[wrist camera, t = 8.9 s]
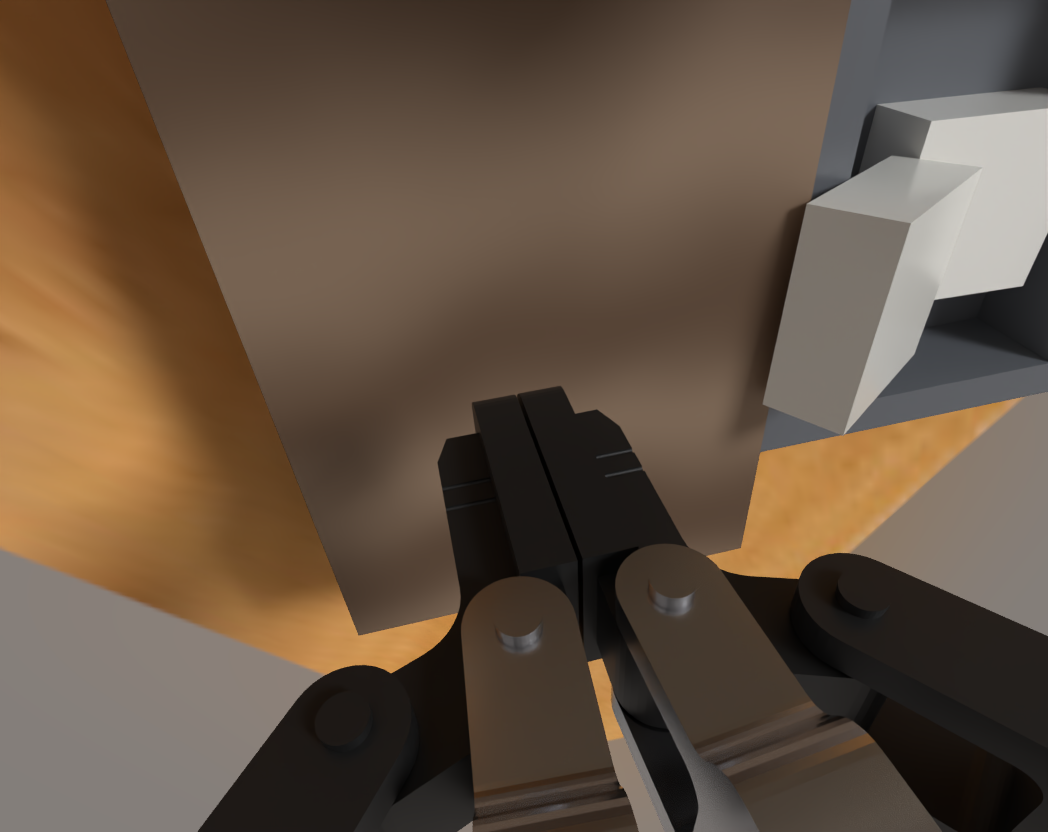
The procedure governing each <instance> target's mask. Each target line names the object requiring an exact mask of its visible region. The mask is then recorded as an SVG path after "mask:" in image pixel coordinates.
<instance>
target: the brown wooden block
mask: <svg viewBox="0 0 1048 832" xmlns="http://www.w3.org/2000/svg"><path fill="white" fill-rule="evenodd" d="M106 3H107V5H108V8H109V10H110V13H111V15H112V18H113V20H114V23H115V25H116V28H117V30H118V33H119V35H120V38H121V40H122V43H123V45H124V48H125V50H126V53H127V55H128V58H129V60H130V63H131V65H132V68H133V70H134V73H135V75H136V78H137V80H138V83H139V85H140V88H141V90H142V93H143V95H144V98H145V100H146V103H147V106H148V108H149V111H150V113H151V116H152V118H153V121H154V123H155V126H156V128H157V131H158V133H159V136H160V138H161V141H162V143H163V146H164V148H165V151H166V153H167V156H168V158H169V161H170V163H171V166H172V168H173V171H174V173H175V176H176V178H177V181H178V183H179V186H180V188H181V191H182V193H183V196H184V198H185V201H186V203H187V206H188V208H189V211H190V213H191V216H192V218H193V221H194V223H195V226H196V228H197V231H198V233H199V236H200V238H201V241H202V243H203V246H204V249H205V251H206V254H207V256H208V259H209V261H210V264H211V266H212V269H213V271H214V274H215V276H216V279H217V281H218V284H219V286H220V289H221V291H222V294H223V296H224V299H225V301H226V304H227V306H228V309H229V311H230V314H231V316H232V319H233V321H234V324H235V326H236V329H237V331H238V334H239V336H240V339H241V341H242V344H243V346H244V349H245V351H246V354H247V356H248V359H249V361H250V364H251V366H252V369H253V371H254V374H255V376H256V379H257V381H258V384H259V386H260V389H261V392H262V394H263V397H264V399H265V402H266V404H267V407H268V409H269V412H270V414H271V417H272V419H273V422H274V424H275V427H276V429H277V432H278V434H279V437H280V439H281V442H282V444H283V447H284V449H285V452H286V454H287V457H288V459H289V462H290V464H291V467H292V469H293V472H294V474H295V477H296V479H297V482H298V484H299V487H300V489H301V492H302V494H303V497H304V499H305V502H306V504H307V507H308V509H309V512H310V514H311V517H312V519H313V522H314V524H315V527H316V529H317V532H318V535H319V537H320V540H321V542H322V545H323V547H324V550H325V552H326V555H327V557H328V560H329V562H330V565H331V567H332V570H333V572H334V575H335V577H336V580H337V582H338V585H339V587H340V590H341V592H342V595H343V597H344V600H345V602H346V605H347V607H348V610H349V612H350V615H351V617H352V620H353V622H354V625H355V627H356V630H357V632H358V635H363V634H368V633H372V632H376V631H381V630H385V629H389V628H394V627H398V626H403V625H407V624H411V623H416V622H420V621H424V620H429V619H433V618H437V617H442V616H446V615H451V614H455V613H458V611H459V608H460V599H461V596H460V587H459V581H458V576H457V570H456V564H455V559H454V553H453V548H452V542H451V536H450V531H449V525H448V519H447V514H446V508H445V503H444V497H443V491H442V486H441V480H440V475H439V469H438V463H437V462H438V460H439V457H440V454H441V452H442V449H443V447H444V444H445V441H446V439H448V438H454V437H459V436H464V435H469V434H474V433H476V432H475V425H474V418H473V411H472V402H477V401H482V400H488V399H493V398H498V397H503V396H509V395H516V397H517V394H518V393H524V392H529V391H534V390H540V389H545V388H550V387H556V386H561V387H562V388H563V389H564V391H565V393H566V395H567V398H568V400H569V402H570V404H571V406H572V408H573V410H574V412H575V414H576V413H581V412H586V411H591V410H596V409H597V410H599V411H600V412H601V413H603V414H604V415H605V416H607V417H608V418H610V419H611V420H612V421H614V422H615V423H616V424H618V425H619V426H620V427H621V429H622V431H623V433H624V435H625V436H626V438H627V440H628V442H629V444H630V445H631V447H632V451H633V452H635V454H636V456H637V458H638V460H639V461H640V463H641V465H642V469H643V471H645V472H646V474H647V476H648V478H649V479H650V481H651V483H652V485H653V487H654V488H655V490H656V492H657V494H658V496H659V497H660V499H661V501H662V503H663V504H664V506H665V508H666V510H667V512H668V513H669V515H670V517H671V519H672V521H673V522H674V524H675V526H676V528H677V530H678V531H679V533H680V535H681V537H682V539H683V540H684V542H685V543H686V544H687V546H688V547H689V548H691V549H694V550H696V551H698V552H700V553H702V554H703V555H705V556H708V555H712V554H716V553H721V552H725V551H729V550H734V549H738V548H741V544H742V539H743V534H744V529H745V524H746V519H747V514H748V509H749V505H750V500H751V495H752V490H753V485H754V480H755V475H756V470H757V465H758V460H759V455H760V450H761V445H762V440H763V435H764V430H765V425H766V420H767V415H768V410H769V407H768V406H765V405H763V400H764V395H765V391H766V386H767V382H768V377H769V373H770V368H771V363H772V359H773V354H774V350H775V345H776V341H777V336H778V332H779V327H780V323H781V318H782V314H783V309H784V304H785V300H786V295H787V291H788V286H789V282H790V277H791V273H792V268H793V264H794V259H795V255H796V250H797V245H798V241H799V236H800V232H801V227H802V223H803V218H804V214H805V209H806V205H807V203H809V202H811V198H812V193H813V188H814V183H815V178H816V173H817V168H818V163H819V158H820V153H821V148H822V143H823V138H824V133H825V128H826V123H827V118H828V113H829V109H830V104H831V99H832V94H833V89H834V84H835V79H836V74H837V69H838V64H839V59H840V54H841V49H842V44H843V39H844V34H845V29H846V24H847V19H848V14H849V10H850V5H851V0H106Z"/></svg>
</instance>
